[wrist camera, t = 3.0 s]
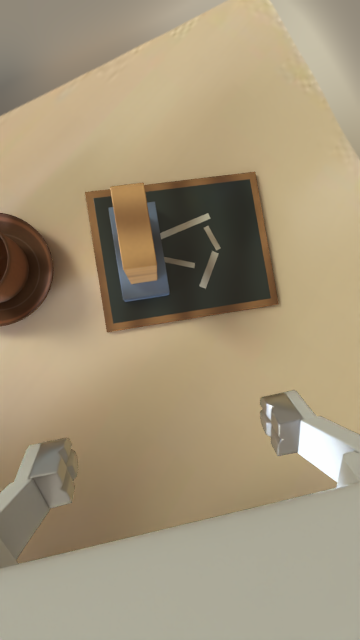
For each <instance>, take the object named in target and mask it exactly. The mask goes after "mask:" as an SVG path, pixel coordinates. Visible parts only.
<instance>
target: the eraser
mask: <svg viewBox="0 0 360 640" xmlns="http://www.w3.org/2000/svg"><path fill="white" fill-rule="evenodd" d="M110 190H111V197H112V203H113V207H109V208H108V209H109V215H110V221H111V228H112V234H113V240H114V246H115V253H116V259H117V265H118V271H119V278H120V284H121V290H122V296H123V300H124V301H125V302H128V301H135V300H141V299H148V298H154V297H160V296H167V295H169V294H170V290H169V284H168V278H167V272H166V266H165V260H164V254H163V248H162V242H161V236H160V230H159V224H158V218H157V211H156V205H155V202H148V203H147V200H146V194H145V188H144V183H137V184H129V185H121V186H112V187H110Z"/></svg>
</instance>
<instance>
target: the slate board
mask: <svg viewBox="0 0 360 640" xmlns="http://www.w3.org/2000/svg"><path fill="white" fill-rule="evenodd" d="M144 188H145V194H146V200H147V203H148V202H155V205H156V211H157V218H158V224H159V230H160V236H161V242H162V248H163V254H164V260H165V266H166V272H167V278H168V284H169V290H170V294H169V295H167V296H160V297H154V298H148V299H141V300H135V301H128V302H125V301H124V300H123V296H122V290H121V284H120V278H119V271H118V265H117V259H116V253H115V246H114V240H113V234H112V228H111V221H110V215H109V209H108V208H109V207H113V203H112V197H111V190H110V189H108V190H100V191H92V192H85V195H86V202H87V208H88V214H89V221H90V227H91V234H92V240H93V246H94V253H95V259H96V265H97V272H98V278H99V284H100V291H101V297H102V303H103V310H104V316H105V323H106V329H107V332H112V331H118V330H124V329H130V328H137V327H143V326H149V325H155V324H161V323H167V322H173V321H179V320H186V319H192V318H198V317H204V316H210V315H216V314H222V313H228V312H235V311H241V310H247V309H253V308H259V307H265V306H271V305H277V304H279V303H278V297H277V292H276V286H275V280H274V275H273V269H272V264H271V258H270V252H269V247H268V241H267V236H266V230H265V224H264V219H263V213H262V207H261V202H260V196H259V191H258V185H257V179H256V174H255V172H249V173H241V174H232V175H224V176H216V177H208V178H199V179H191V180H183V181H174V182H166V183H158V184H150V185H144Z"/></svg>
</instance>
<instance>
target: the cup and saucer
mask: <svg viewBox="0 0 360 640" xmlns="http://www.w3.org/2000/svg"><path fill="white" fill-rule="evenodd" d="M52 279H53V261H52V257H51V253H50V251H49V248H48V246H47V244H46V242H45V241H44V239H43V238H42V236H41V235H40V234H39V233H38V232H37V230H36V229H34V228H33V227H32V226H31V225H30V224H28V223H27V222H25V221H23V220H22V219H19V218H17V217H15V216H12V215H8V214H3V213H0V326H5V325H9V324H12V323H15V322H18V321H20V320H22V319H24V318H26V317H27V316H29V315H30V314H31V313H33V312H34V311H35V310H36V309H37V308H38V307H39V306H40V305H41V303H42V302H43V301H44V299H45V298H46V296H47V294H48V292H49V290H50V287H51V283H52Z"/></svg>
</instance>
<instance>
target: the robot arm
mask: <svg viewBox="0 0 360 640" xmlns="http://www.w3.org/2000/svg"><path fill="white" fill-rule="evenodd" d="M260 405H261V407H262V410H261V412H260V419H261V424H262V427H263V429H264V431H265V433H266V435H268V436H270V437H271V444H272V446H273V448H274V450H275V452H276V454H277V456H281V455H286V454H292V453H297V452H298V454H299V455H301V456H302V457H304V458H305V459H306V460H308V461H309V462H310V463H312V464H313V465H314V466H316V467H317V468H319V469H320V470H321V471H323V472H324V473H325V474H327V475H328V476H329V477H331V478H332V479H334V480H335V481H336V482H337V487H336V488H333V489H329V490H325V491H320V492H316V493H312V494H308V495H304V496H299V497H295V498H291V499H287V500H283V501H279V502H274V503H270V504H266V505H262V506H258V507H254V508H250V509H246V510H241V511H237V512H233V513H229V514H225V515H221V516H217V517H212V518H208V519H204V520H200V521H196V522H192V523H187V524H183V525H179V526H175V527H171V528H166V529H162V530H158V531H154V532H150V533H145V534H141V535H137V536H133V537H129V538H125V539H120V540H116V541H112V542H108V543H104V544H100V545H95V546H91V547H87V548H83V549H79V550H74V551H70V552H66V553H62V554H58V555H54V556H49V557H45V558H41V559H37V560H33V561H29V562H24V563H20V564H18V562H17V561H16V559H17V558H18V556H19V555H20V553H21V552H22V550H23V549H24V547H25V546H26V544H27V543H28V541H29V540H30V538H31V537H32V535H33V534H34V532H35V531H36V530H37V528H38V527H39V525H40V524H41V522H42V521H43V519H44V518H45V516H46V515H47V513H48V512H49V510H50V508H54V507H58V506H62V505H65V504H69V503H72V500H73V495H74V489H75V485H74V483H73V480H74V479H75V478H76V476H77V473H78V459H77V455H76V452H75V451H73V450H72V449H71V446H72V443H71V441H70V439H69V438H64V439H58V440H53V441H48V442H43V443H38V444H33V445H30V446H29V447H28V448H27V450H26V452H25V455H24V457H23V460H22V463H21V465H20V468H19V470H18V473H17V475H16V478H15V480H14V482H13V483H10V484H9V485H8V486H7V487H6V488H5V489H4V490H3V491H2V492H1V493H0V640H360V435H359V434H357V433H355V432H353V431H351V430H349V429H347V428H344V427H342V426H340V425H338V424H336V423H334V422H332V421H330V420H328V419H326V418H324V417H322V416H316V415H315V414H314V412H313V411H312V410H311V409H310V407H309V406H308V405H307V404H306V402H305V401H304V400H303V399H302V397H301V396H300V395H299V394H298V392H297V391H295V390H292V391H287V392H283V393H278V394H274V395H269V396H265V397H261V399H260Z"/></svg>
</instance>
